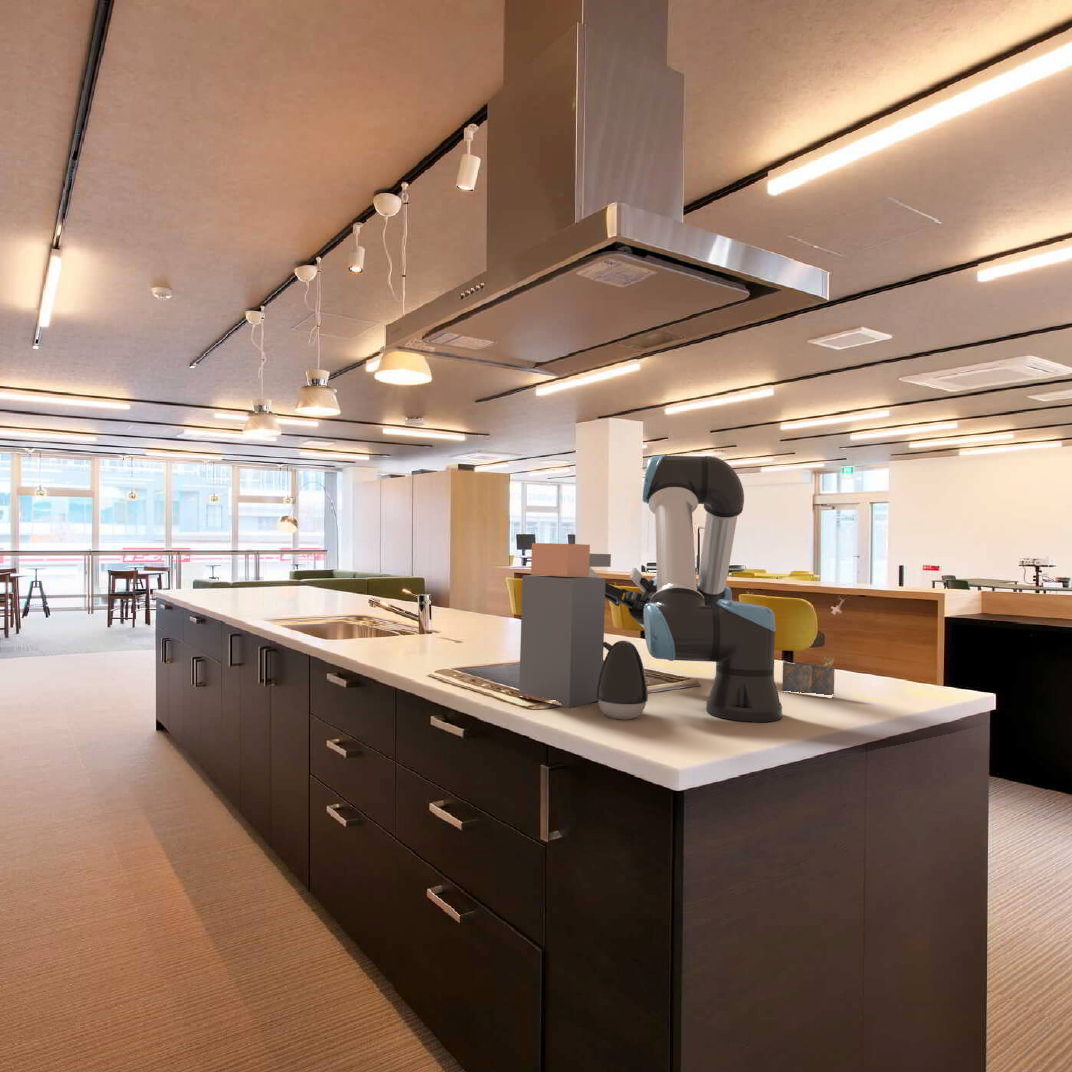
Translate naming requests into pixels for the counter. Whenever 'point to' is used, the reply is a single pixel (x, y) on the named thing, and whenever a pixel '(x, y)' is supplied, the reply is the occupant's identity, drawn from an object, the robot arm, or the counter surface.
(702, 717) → the counter surface
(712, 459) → the robot arm
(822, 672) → the ruin model on sheet
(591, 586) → the grey tall block
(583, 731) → the counter surface
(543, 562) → the orange and grey block
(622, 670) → the pump dispenser
